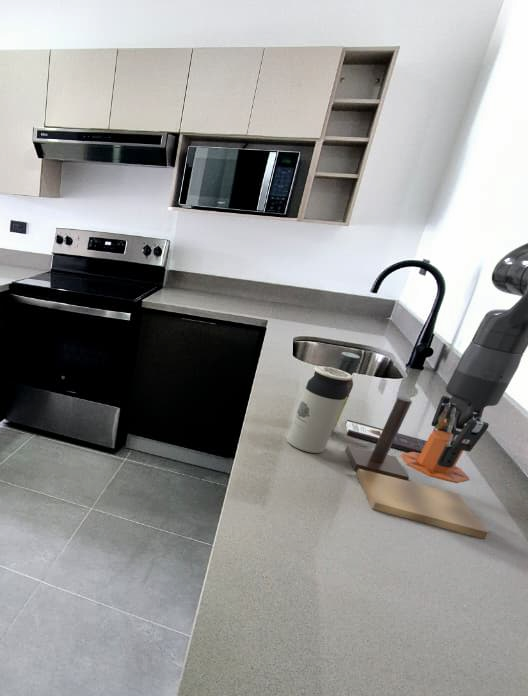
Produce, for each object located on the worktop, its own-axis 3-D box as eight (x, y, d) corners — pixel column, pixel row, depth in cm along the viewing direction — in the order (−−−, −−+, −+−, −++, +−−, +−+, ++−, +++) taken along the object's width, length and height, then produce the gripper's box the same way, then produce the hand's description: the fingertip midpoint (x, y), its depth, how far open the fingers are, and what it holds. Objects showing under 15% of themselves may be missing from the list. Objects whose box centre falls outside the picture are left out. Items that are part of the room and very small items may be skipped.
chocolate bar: (433, 454, 117) (348, 431, 123) (431, 458, 117) (347, 434, 124) (426, 440, 124) (347, 419, 131) (425, 444, 125) (345, 422, 131)
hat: (453, 463, 96) (469, 433, 93) (475, 488, 87) (494, 455, 84) (395, 449, 98) (410, 419, 96) (411, 472, 90) (427, 440, 87)
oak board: (453, 499, 100) (457, 493, 99) (484, 539, 88) (488, 532, 87) (355, 474, 105) (358, 468, 104) (372, 509, 92) (375, 502, 92)
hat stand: (392, 462, 113) (424, 397, 106) (406, 483, 104) (441, 413, 97) (344, 450, 115) (372, 386, 108) (353, 470, 106) (384, 401, 100)
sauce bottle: (303, 421, 128) (331, 347, 120) (328, 426, 127) (359, 352, 119) (310, 432, 122) (340, 355, 114) (336, 437, 121) (369, 360, 113)
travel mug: (317, 441, 118) (346, 369, 110) (328, 457, 111) (360, 381, 103) (282, 434, 119) (308, 363, 111) (291, 449, 111) (320, 374, 104)
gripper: (531, 391, 78) (477, 483, 85) (489, 366, 90) (446, 448, 97) (475, 379, 80) (428, 471, 87) (442, 357, 92) (403, 438, 99)
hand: (438, 458), depth 92 cm, fingers closed on hat, 5 cm apart
